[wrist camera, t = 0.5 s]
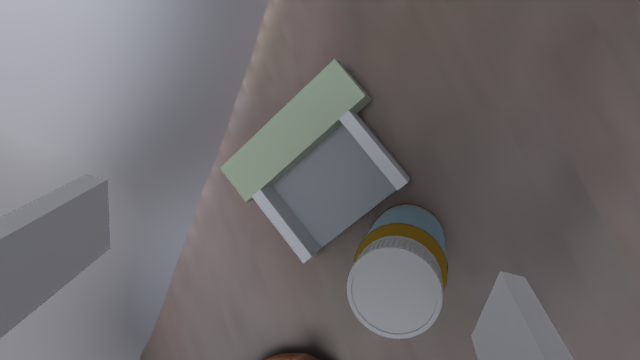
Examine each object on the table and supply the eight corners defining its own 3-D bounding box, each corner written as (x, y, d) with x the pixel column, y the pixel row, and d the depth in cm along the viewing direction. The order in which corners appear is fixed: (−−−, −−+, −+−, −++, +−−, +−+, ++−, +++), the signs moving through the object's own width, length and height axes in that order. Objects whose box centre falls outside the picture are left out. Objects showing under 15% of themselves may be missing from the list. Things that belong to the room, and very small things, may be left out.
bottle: (458, 249, 37) (473, 317, 23) (397, 281, 40) (377, 362, 25) (418, 189, 38) (409, 220, 24) (360, 225, 40) (320, 272, 26)
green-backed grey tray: (344, 66, 39) (334, 58, 35) (427, 165, 37) (426, 168, 33) (238, 165, 43) (218, 168, 39) (309, 257, 42) (296, 269, 38)
